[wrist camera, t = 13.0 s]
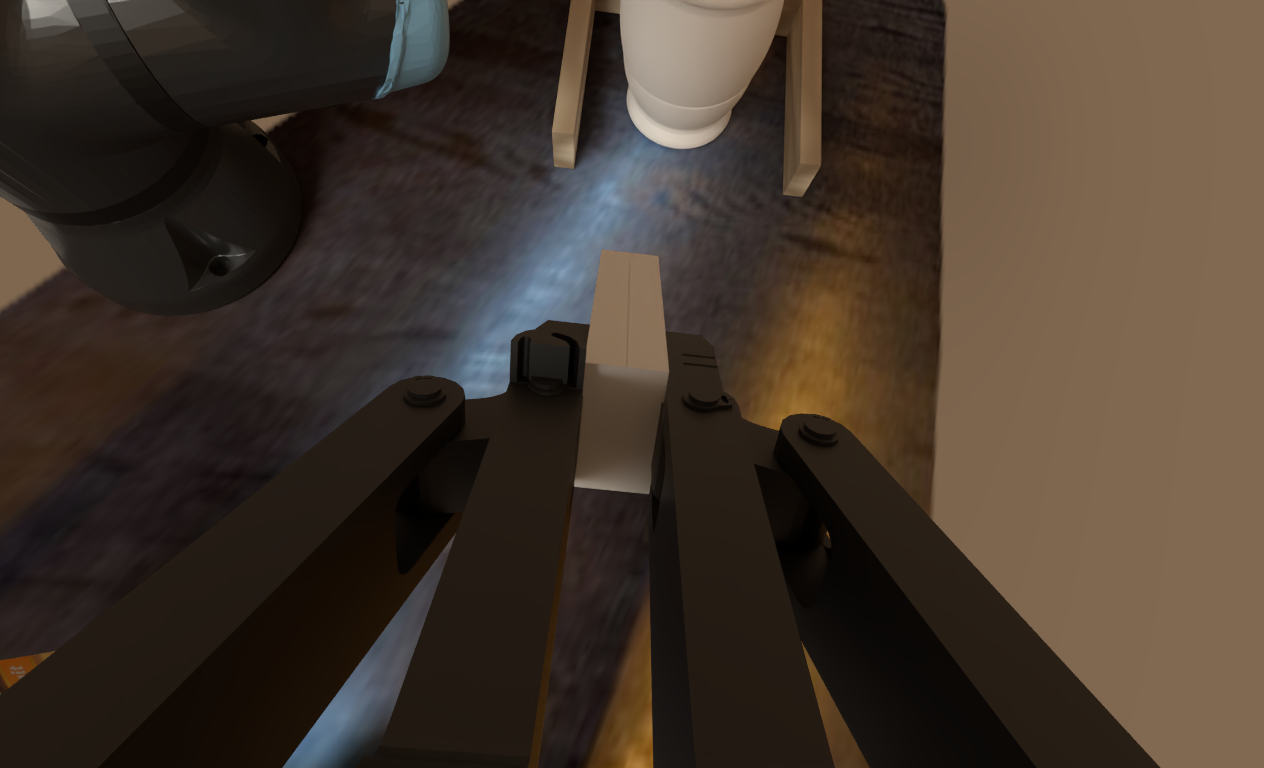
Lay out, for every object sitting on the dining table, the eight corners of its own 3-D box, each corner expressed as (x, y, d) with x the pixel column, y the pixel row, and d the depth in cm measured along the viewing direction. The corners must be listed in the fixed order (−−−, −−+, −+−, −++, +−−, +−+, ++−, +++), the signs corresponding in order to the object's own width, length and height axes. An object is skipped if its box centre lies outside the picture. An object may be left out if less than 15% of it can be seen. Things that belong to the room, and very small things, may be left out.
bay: (554, 166, 48) (552, 131, 44) (578, -7, 53) (578, -52, 49) (802, 197, 49) (821, 165, 45) (804, 24, 54) (822, -17, 50)
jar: (628, 37, 52) (647, -166, 38) (752, 66, 52) (818, -124, 38) (599, 146, 49) (608, -29, 35) (731, 176, 49) (794, 15, 35)
